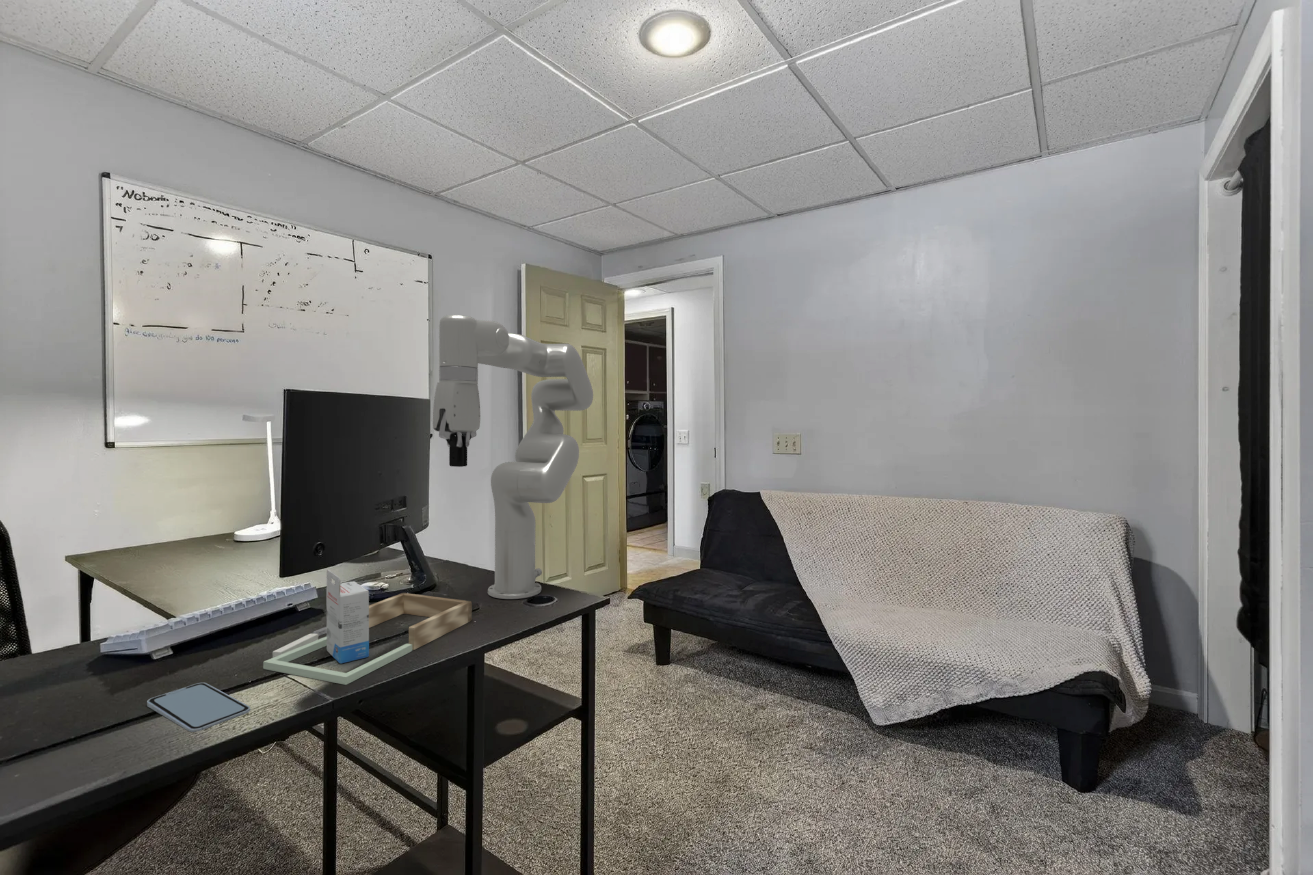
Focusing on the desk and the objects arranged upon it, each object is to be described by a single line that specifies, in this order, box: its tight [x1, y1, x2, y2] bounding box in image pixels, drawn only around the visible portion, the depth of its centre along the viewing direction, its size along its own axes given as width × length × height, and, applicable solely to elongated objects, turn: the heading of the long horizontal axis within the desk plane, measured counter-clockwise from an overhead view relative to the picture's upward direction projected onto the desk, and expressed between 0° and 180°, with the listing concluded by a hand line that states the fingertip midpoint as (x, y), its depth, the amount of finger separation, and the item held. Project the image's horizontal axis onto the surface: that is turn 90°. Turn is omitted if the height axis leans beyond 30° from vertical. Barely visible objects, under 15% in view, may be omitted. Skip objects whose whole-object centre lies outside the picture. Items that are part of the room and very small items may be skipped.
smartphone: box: [146, 682, 251, 733], centre depth 85 cm, size 7×1×15 cm
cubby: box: [369, 592, 473, 651], centre depth 118 cm, size 17×17×4 cm
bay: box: [262, 635, 413, 686], centre depth 103 cm, size 15×17×1 cm
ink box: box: [325, 568, 370, 664], centre depth 105 cm, size 9×5×15 cm, turn 43°
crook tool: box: [312, 626, 327, 637], centre depth 119 cm, size 12×5×1 cm, turn 161°
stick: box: [272, 633, 319, 658], centre depth 107 cm, size 9×2×2 cm, turn 171°
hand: (458, 466), depth 123 cm, fingers closed
